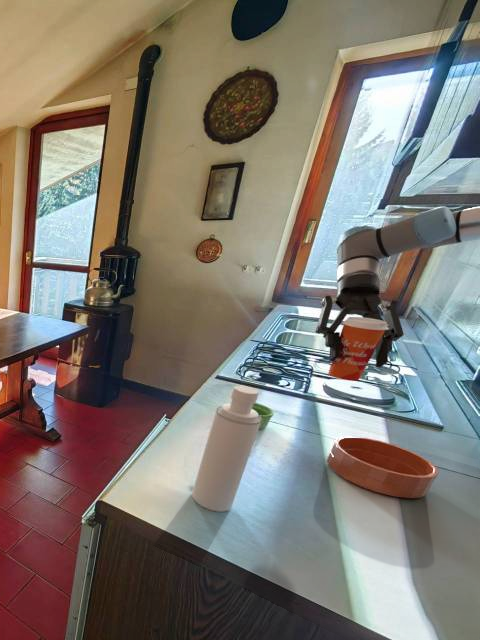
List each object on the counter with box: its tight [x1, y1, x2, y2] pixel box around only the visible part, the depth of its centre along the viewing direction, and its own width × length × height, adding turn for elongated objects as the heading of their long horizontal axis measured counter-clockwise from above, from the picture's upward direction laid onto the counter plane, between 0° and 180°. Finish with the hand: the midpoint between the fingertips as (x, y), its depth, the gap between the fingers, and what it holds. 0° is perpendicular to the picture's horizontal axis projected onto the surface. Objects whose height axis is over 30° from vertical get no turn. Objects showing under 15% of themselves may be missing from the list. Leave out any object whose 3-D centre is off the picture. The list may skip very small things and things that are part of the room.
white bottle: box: [191, 385, 262, 513], centre depth 70 cm, size 7×7×25 cm
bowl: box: [326, 435, 439, 499], centre depth 82 cm, size 15×15×6 cm
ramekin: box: [252, 402, 275, 430], centre depth 104 cm, size 9×9×4 cm
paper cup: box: [328, 316, 389, 382], centre depth 92 cm, size 8×8×14 cm
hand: (357, 361), depth 90 cm, fingers closed on paper cup, 8 cm apart
